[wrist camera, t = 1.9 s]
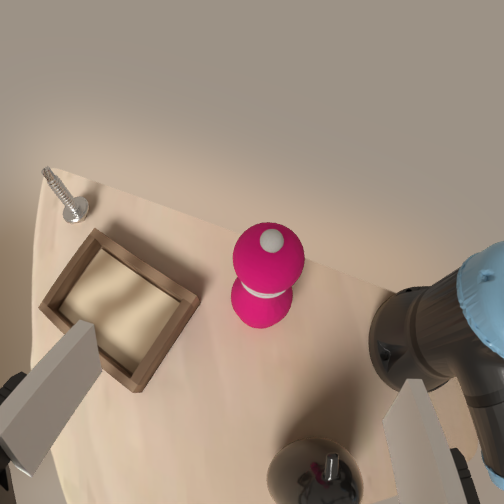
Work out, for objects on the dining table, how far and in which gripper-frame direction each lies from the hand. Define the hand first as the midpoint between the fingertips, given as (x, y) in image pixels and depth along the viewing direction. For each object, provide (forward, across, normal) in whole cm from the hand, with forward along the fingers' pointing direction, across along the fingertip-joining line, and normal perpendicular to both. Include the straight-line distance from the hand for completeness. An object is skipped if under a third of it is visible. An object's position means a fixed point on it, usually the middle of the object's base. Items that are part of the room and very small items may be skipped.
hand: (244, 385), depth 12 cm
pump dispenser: (+12, +10, -27) cm, 31 cm away
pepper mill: (+27, 0, -12) cm, 30 cm away
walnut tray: (+24, -19, -15) cm, 34 cm away
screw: (+33, -31, -6) cm, 46 cm away
